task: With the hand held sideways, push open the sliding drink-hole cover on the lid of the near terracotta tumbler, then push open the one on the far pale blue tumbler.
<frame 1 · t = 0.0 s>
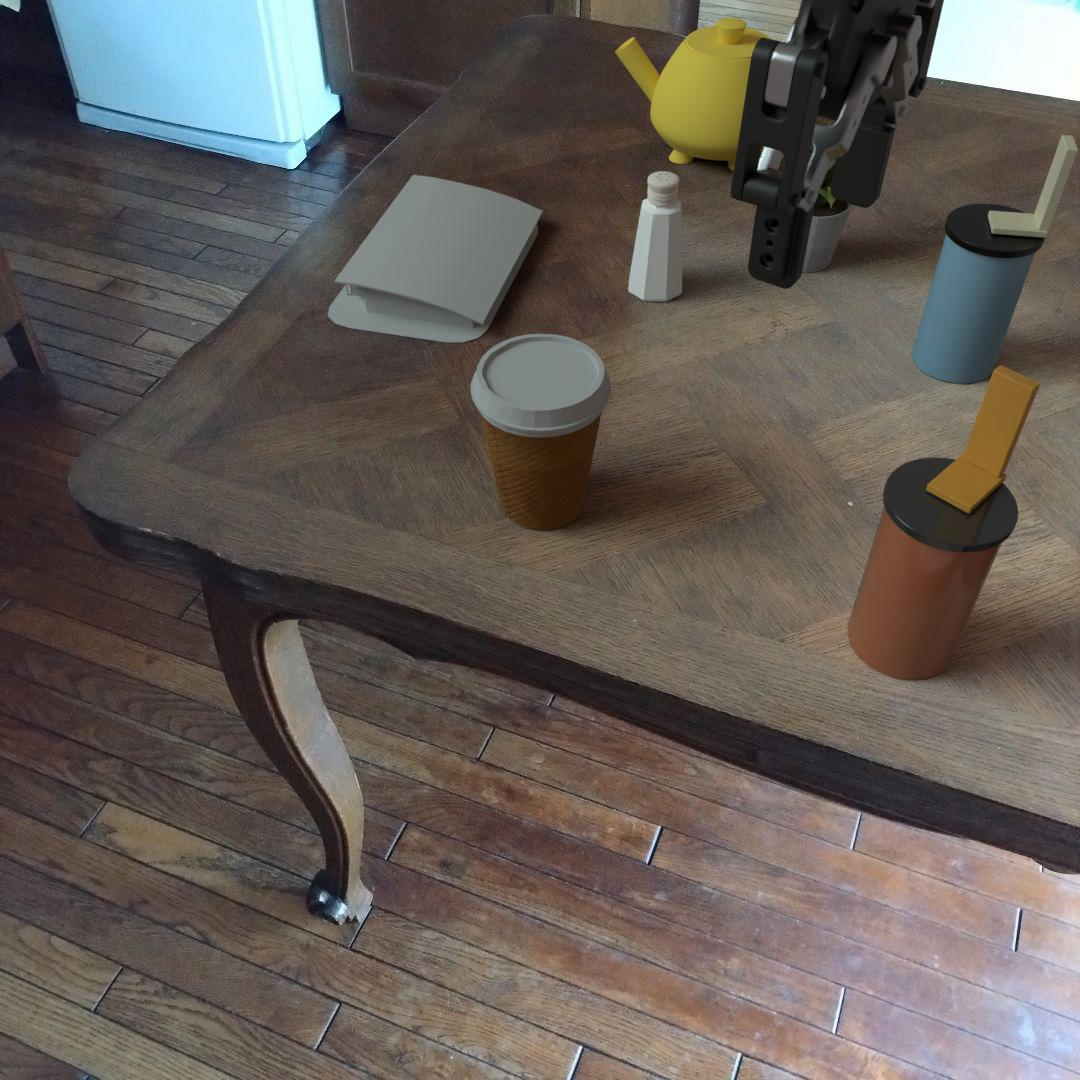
hand: (815, 238, 48), 30 cm above the table, tool pointing down, fingers open, 8 cm apart
near tumbler: (899, 638, 70), on the table
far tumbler: (952, 359, 91), on the table
salt shaker: (655, 289, 100), on the table
house plant: (788, 258, 103), on the table
near slider: (982, 439, 59), point 16 cm above the table, slide at 0.0 cm
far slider: (1031, 185, 80), point 16 cm above the table, slide at 0.0 cm
disposable coffee cup: (542, 502, 79), on the table
teapot: (697, 148, 120), on the table
book: (439, 270, 103), on the table
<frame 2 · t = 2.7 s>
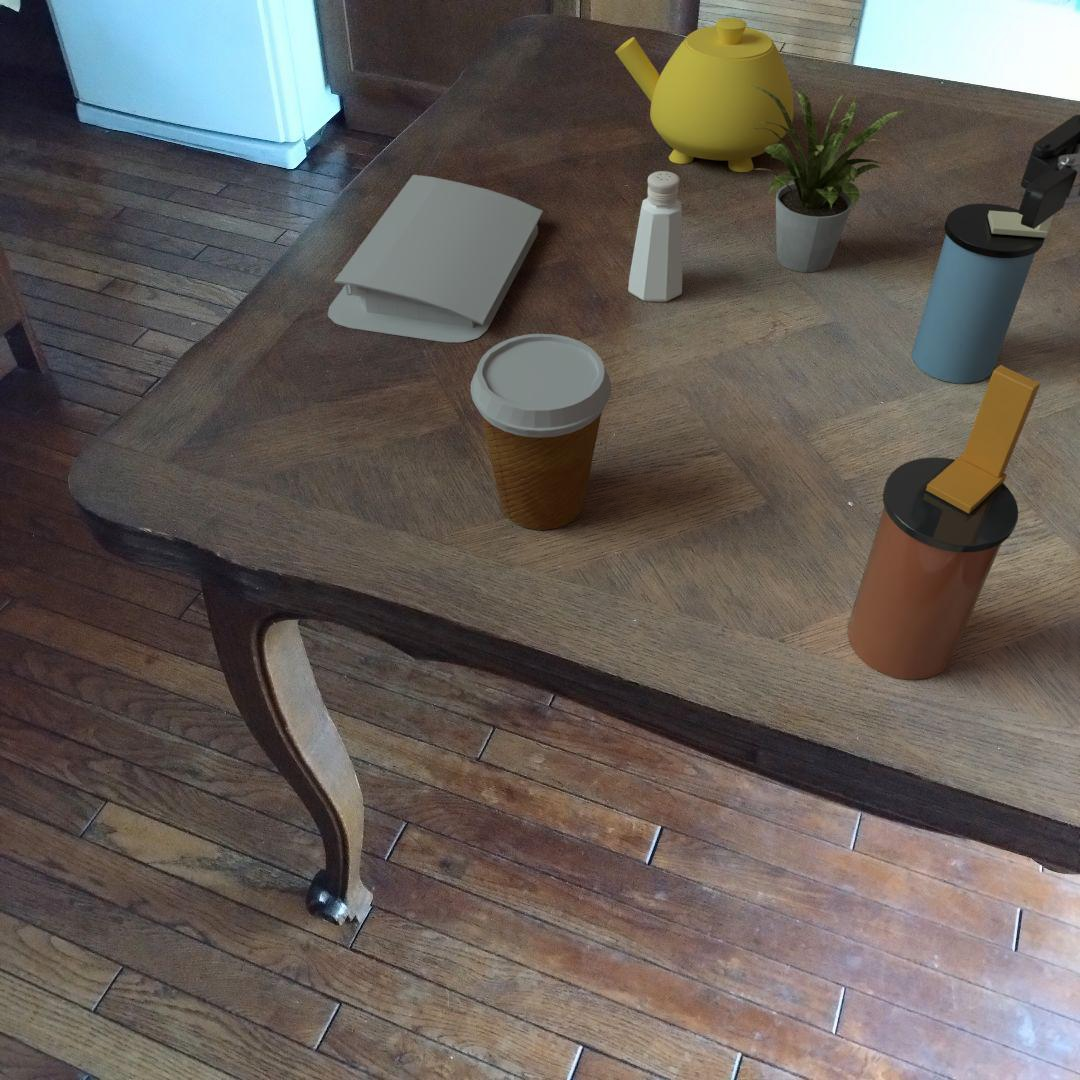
nothing on the table moved.
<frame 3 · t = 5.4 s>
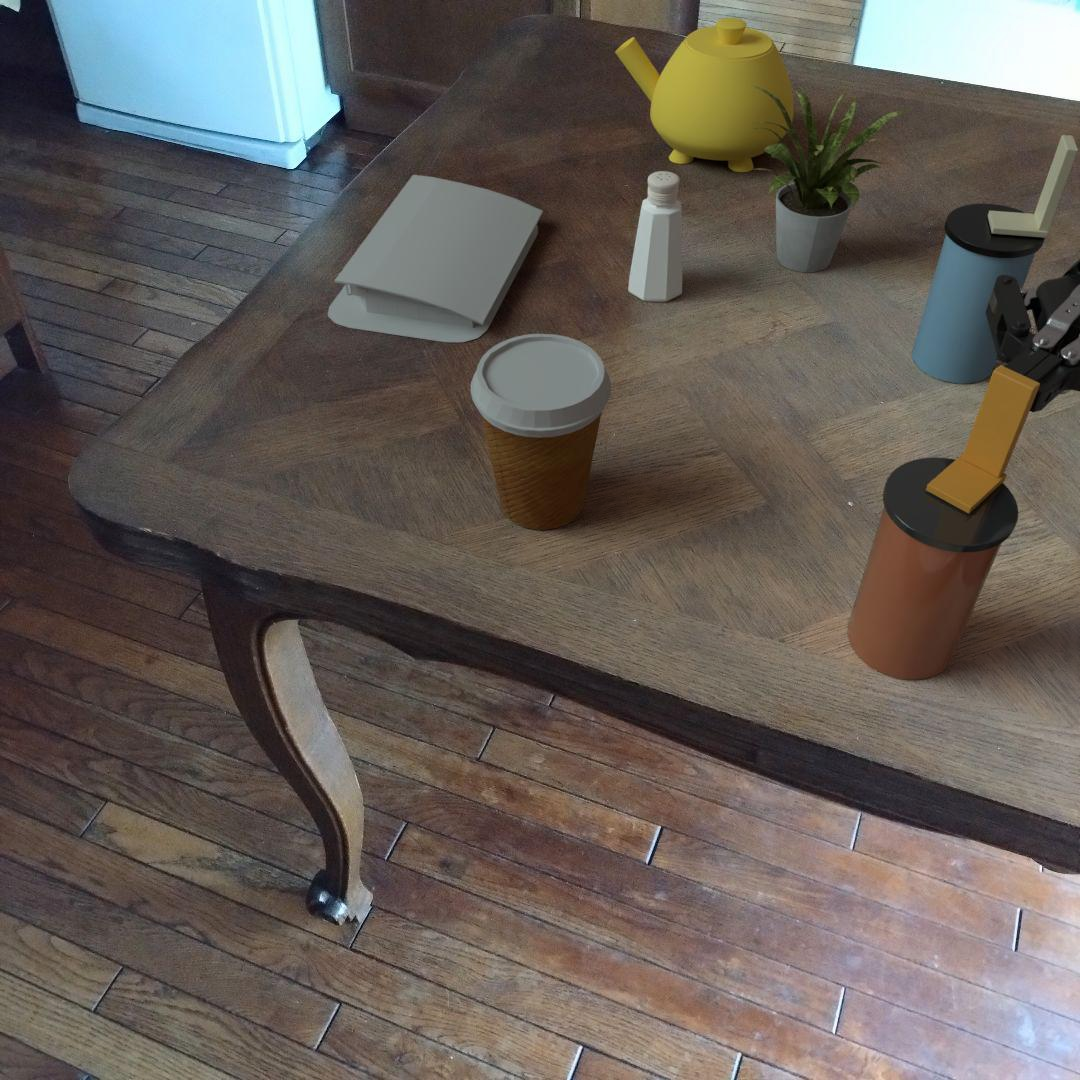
hand: (1012, 397, 59), 18 cm above the table, tool horizontal, fingers closed
near slider: (982, 439, 59), point 16 cm above the table, slide at 0.0 cm, touching gripper
everything else where it was.
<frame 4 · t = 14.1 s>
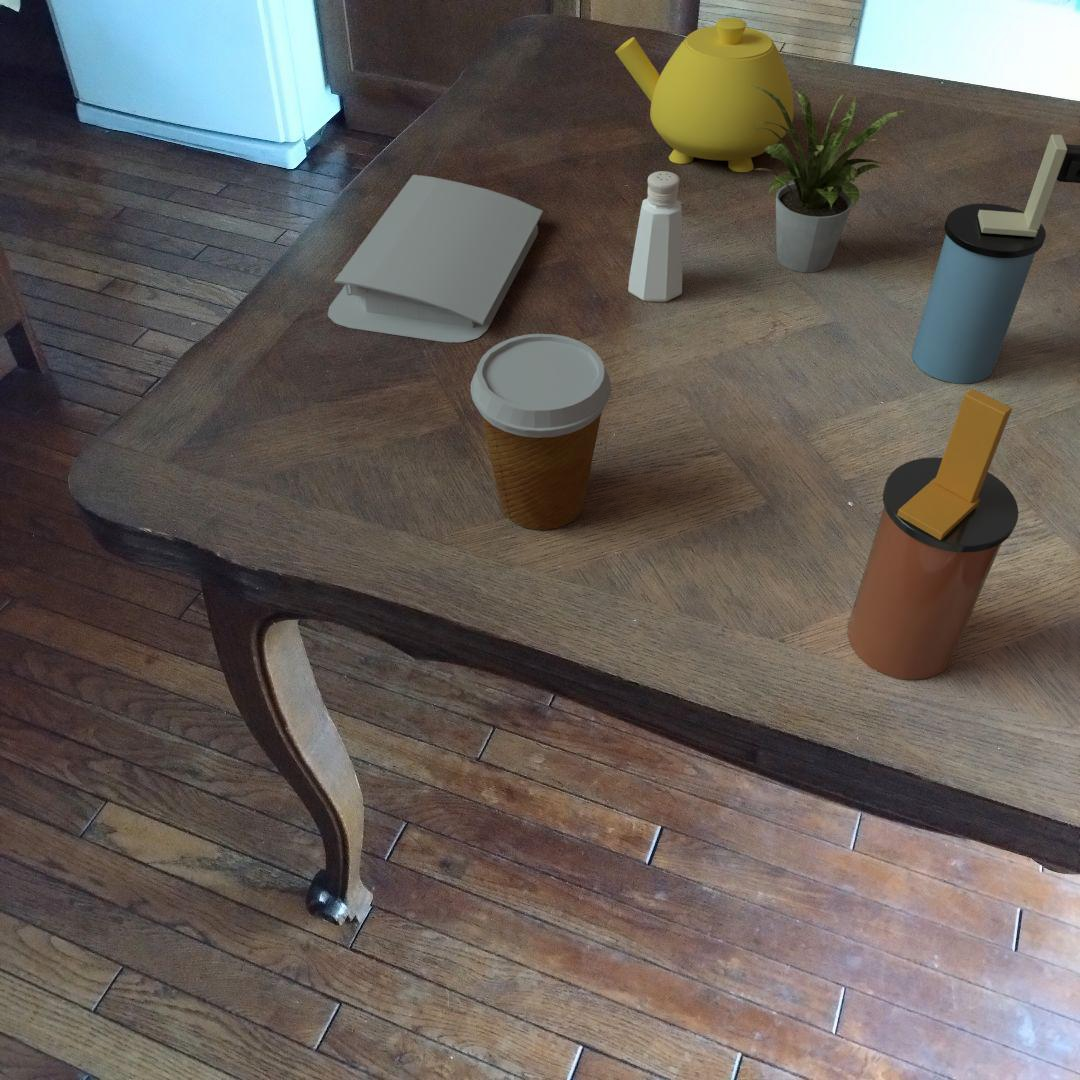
hand: (1057, 162, 78), 18 cm above the table, tool horizontal, fingers closed
near slider: (954, 464, 58), point 16 cm above the table, slide at 3.0 cm
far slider: (1020, 184, 80), point 16 cm above the table, slide at 0.8 cm, touching gripper
everything else where it was.
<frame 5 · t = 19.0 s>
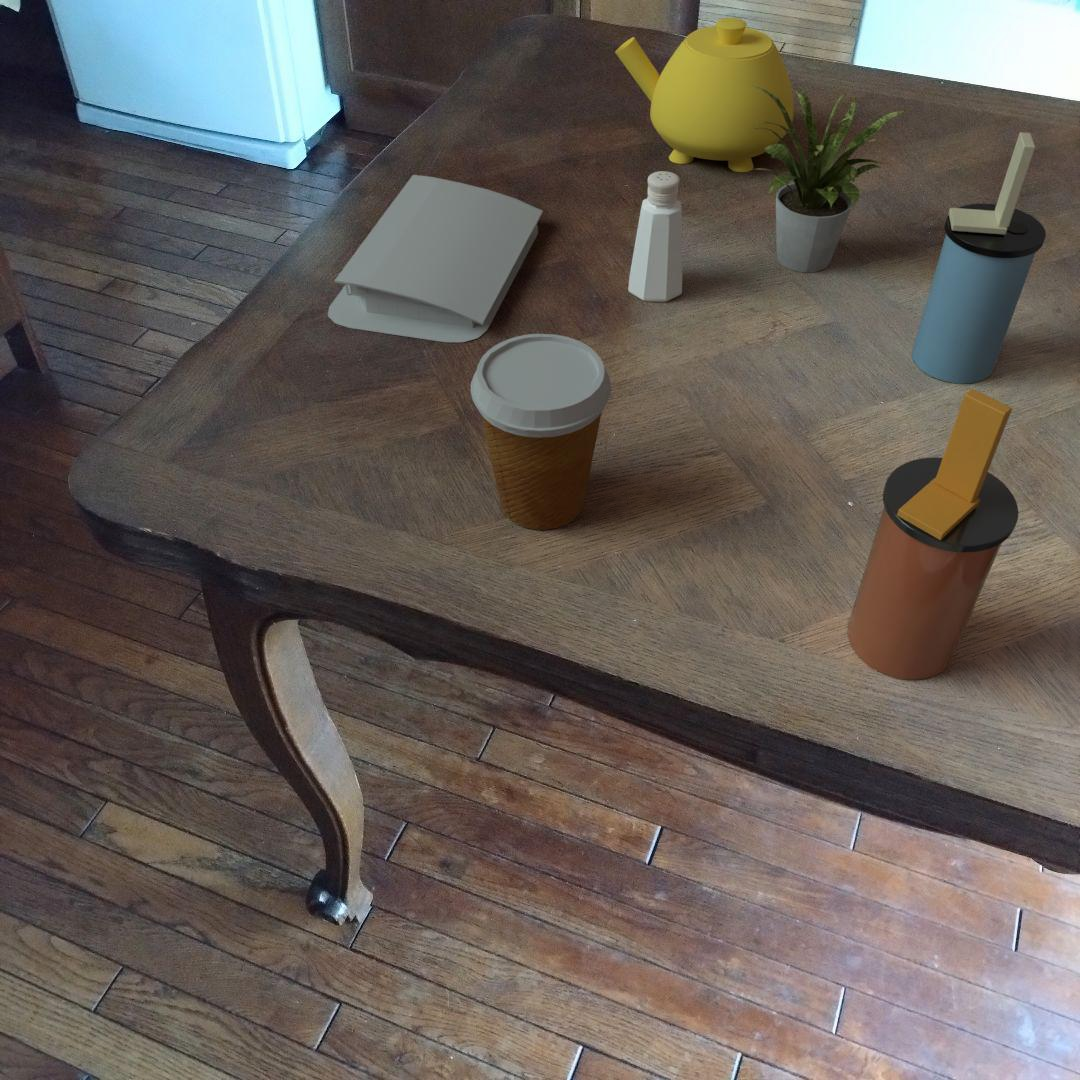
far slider: (990, 182, 80), point 16 cm above the table, slide at 3.0 cm
everything else where it was.
at the end: near slider slide at 3.0 cm; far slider slide at 3.0 cm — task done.
